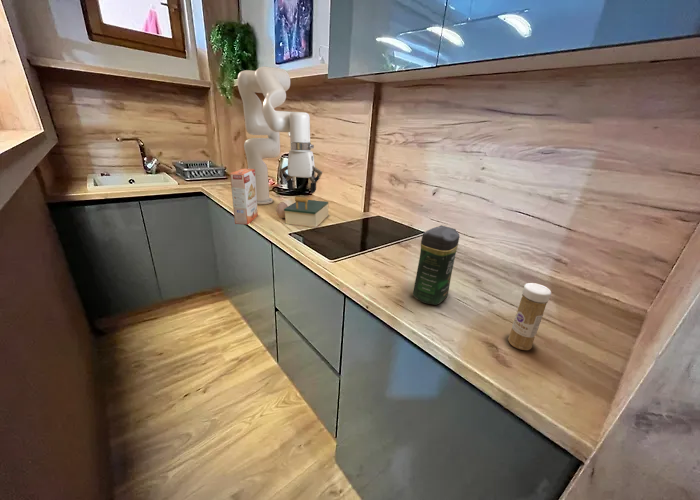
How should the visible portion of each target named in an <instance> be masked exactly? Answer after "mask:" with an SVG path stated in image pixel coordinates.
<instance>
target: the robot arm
mask: <svg viewBox="0 0 700 500" xmlns="http://www.w3.org/2000/svg"><path fill="white" fill-rule="evenodd" d="M236 81H237V88H238V92H239V96H240V98H241V101H242V106H243V116H244V117H243V118H244V126H245V130H246V132H247V134H249V135H252V136H267V137H251V138H248V139H245V141H244V144H243V149H244V153H245V158H246V161H247V169H255V178H256V194H257V206H258V205H268V204H272V203H273V202H274V199H273V198H271V197H270V185H269V184H270V183H269V181H270V180H269V168H268V165H267V164H266V163H265V161H264V160H263V159H276V158H278V157H279V156H280V154H281V137H280V136H281V135H280V133H289V139H290V140H289V141H290V143H289V144H290V149H289V152H288V157H287V165H286V166H284V167H282V168H280V170H279V171H280V173H281V175H282V177H283V179H285V181H286V187H287V190H288V192H292V191H293V190H294V183H293V182H294V181H293V178H303V179H309V181H311V183H310V193H311V194H314V193H315V192H316V190H317V183H318V181H319V180H320V179H321V176H322V175H323V171H322V170H321V169H319V168H317V167H316V166H315V165H316V163H315V156H314V151H313V150H312V149H314V148H315V145H314V144H312V143H311V117H310V114H309V112H305V111H288V110H275V109H276V108H279V107H281V106H282V105H283V104H284V103H285V101H286V99H287V91H288V90H289V89H290V87H291V76H290V75H289V73H288V71H287V70H285V69H283V68H281V67H280V68H278V67H272V66H260V67H258V68H257V69H256V70H251V69H250V70H249V69H246V70H245V69H244V70H241V71H240V72H239V73H238V74H237V80H236ZM256 93H258V94H262V95H263V97H264V100H263V102H262V101H261V99H260V97H259V96H258V95H257V94H256ZM286 171H287V172H286ZM316 174H317V175H316Z"/></svg>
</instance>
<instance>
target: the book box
mask: <svg viewBox="0 0 700 500" xmlns="http://www.w3.org/2000/svg"><path fill="white" fill-rule="evenodd" d="M328 217H329V203H328V204H327V205H326V206H325V207H323V208H322V209H321V210H320V211H318V212H317V213H316V214H309V213H300V212H291V211H285V218H284V219H285V224H287V225H295V226H302V227H311V228H317V227H318V226H319V225H321V223H322V222H323V221H324V220H326V219H327V218H328Z"/></svg>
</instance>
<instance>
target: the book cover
mask: <svg viewBox="0 0 700 500" xmlns="http://www.w3.org/2000/svg"><path fill="white" fill-rule="evenodd" d="M294 201H295V202H293V203H291V204H290V205H287V206H288V207H287V208H285V209H284V211H291V212H300V213H309V214H316V213H317V212H318V211H320V210H321V209H322V208H323V207H325V206H326V205H327V204H328V205H329V201H326V200H325V201H323V200H315V199H309V198H308V197H304V196H295V197H294Z"/></svg>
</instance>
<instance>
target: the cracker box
mask: <svg viewBox="0 0 700 500" xmlns="http://www.w3.org/2000/svg"><path fill="white" fill-rule="evenodd" d="M229 177H230V188H231V197H232V198H231V199H232V206H233V207H232V208H233V218H234V224H235V225H244V226H249V224H251V223H252V222H253V221H255V219H256V218H257V217H258V216H259V213H258V212H259V211H258V204H257V194H256V178H255V169H248V168H240V169H238V170H235V171H232V172H230V173H229Z"/></svg>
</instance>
